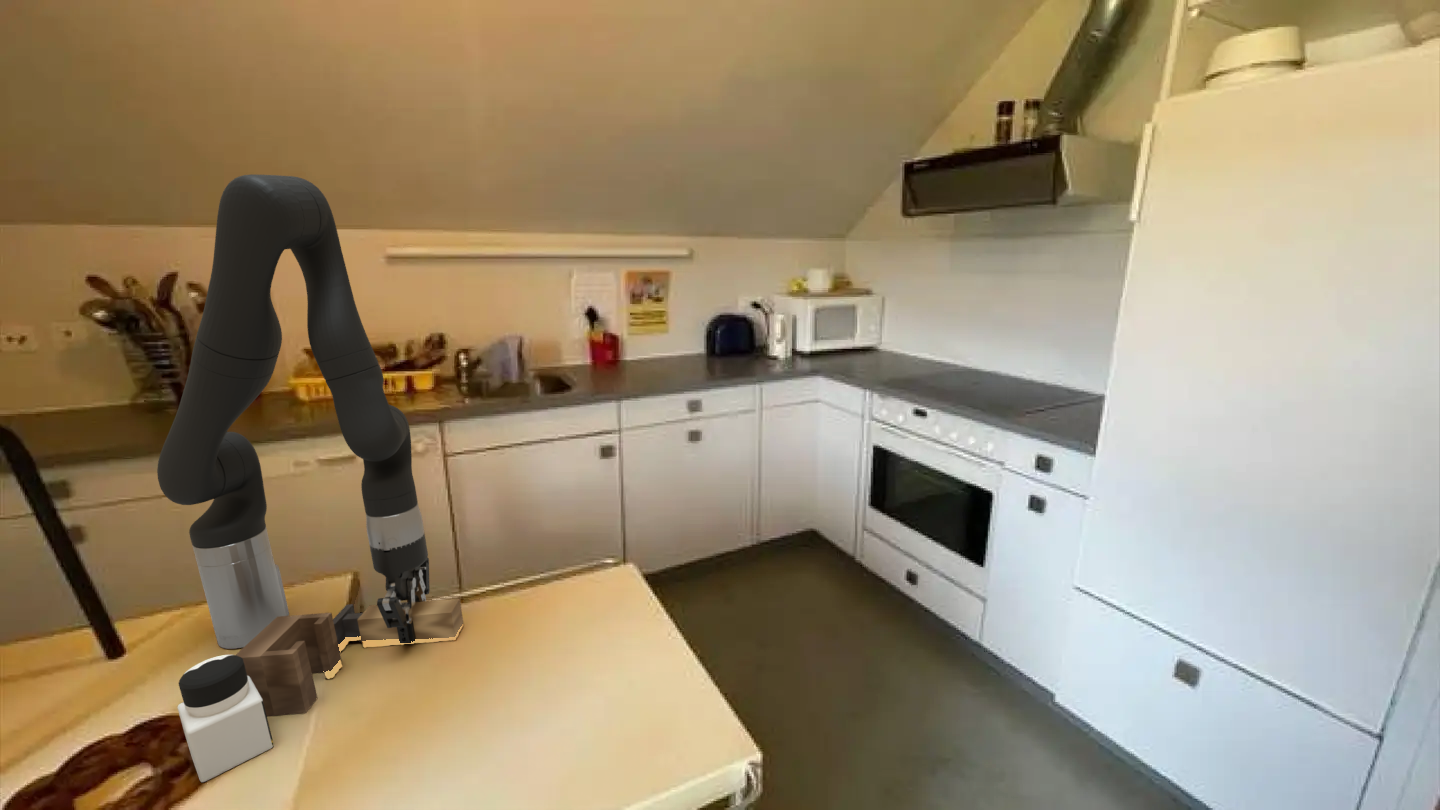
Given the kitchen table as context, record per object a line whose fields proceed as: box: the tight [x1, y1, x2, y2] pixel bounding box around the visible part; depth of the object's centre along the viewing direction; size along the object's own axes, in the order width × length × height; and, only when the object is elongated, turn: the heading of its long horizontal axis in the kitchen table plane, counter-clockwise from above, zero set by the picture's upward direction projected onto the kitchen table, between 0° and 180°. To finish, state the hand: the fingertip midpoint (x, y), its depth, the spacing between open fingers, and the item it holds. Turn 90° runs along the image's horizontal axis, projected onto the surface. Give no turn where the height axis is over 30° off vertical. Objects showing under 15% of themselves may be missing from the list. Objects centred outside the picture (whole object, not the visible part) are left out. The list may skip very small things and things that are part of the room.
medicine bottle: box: [177, 654, 274, 783], centre depth 74 cm, size 7×7×12 cm
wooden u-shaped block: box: [235, 612, 342, 717], centre depth 84 cm, size 8×10×9 cm
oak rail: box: [333, 598, 464, 644], centre depth 96 cm, size 18×6×5 cm, turn 95°
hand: (414, 634), depth 97 cm, fingers closed on oak rail, 4 cm apart
